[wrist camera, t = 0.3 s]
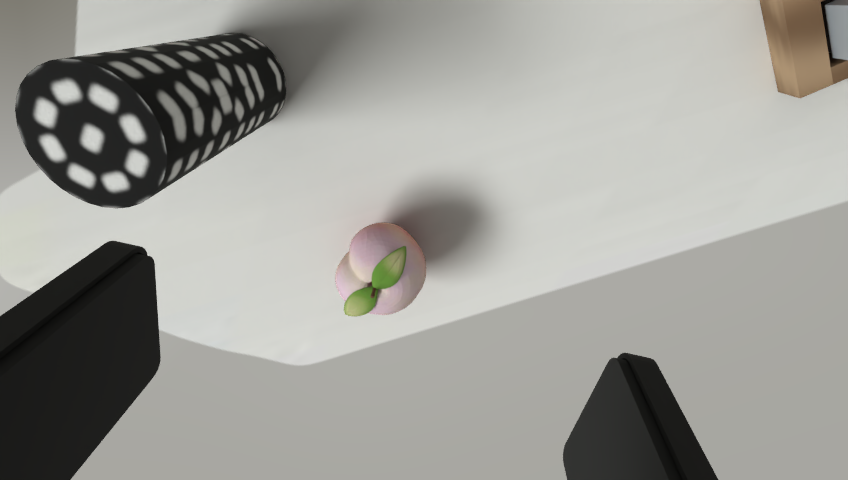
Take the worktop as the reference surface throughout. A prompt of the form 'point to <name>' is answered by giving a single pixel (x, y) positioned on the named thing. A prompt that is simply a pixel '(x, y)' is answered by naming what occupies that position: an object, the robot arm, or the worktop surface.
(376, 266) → the decorative fruit
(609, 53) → the worktop surface
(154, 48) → the spotted tube
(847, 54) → the grey block
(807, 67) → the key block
